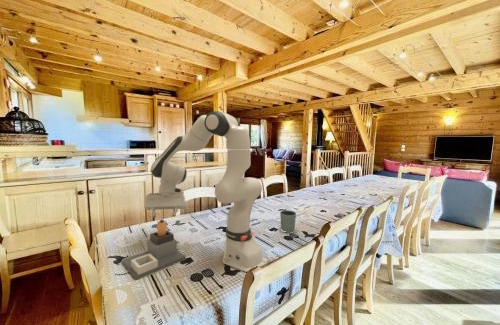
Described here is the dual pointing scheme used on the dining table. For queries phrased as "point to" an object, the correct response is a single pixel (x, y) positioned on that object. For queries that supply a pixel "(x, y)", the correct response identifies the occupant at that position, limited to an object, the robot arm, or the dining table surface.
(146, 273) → the grey socket base
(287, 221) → the grey cup
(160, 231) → the plug
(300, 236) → the dining table surface
